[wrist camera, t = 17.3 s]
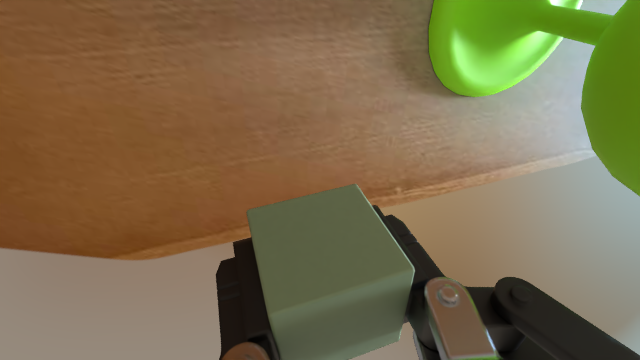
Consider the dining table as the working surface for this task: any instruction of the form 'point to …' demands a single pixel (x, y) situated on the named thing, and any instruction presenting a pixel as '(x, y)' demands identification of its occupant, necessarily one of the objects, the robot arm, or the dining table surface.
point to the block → (330, 275)
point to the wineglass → (534, 48)
